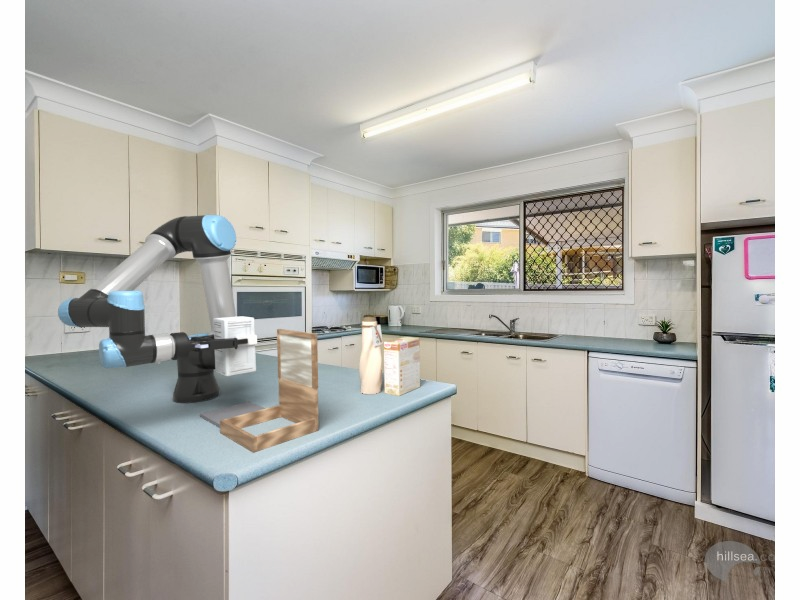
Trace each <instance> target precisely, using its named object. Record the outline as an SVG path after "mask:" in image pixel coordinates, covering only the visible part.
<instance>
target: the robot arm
mask: <svg viewBox="0 0 800 600" xmlns="http://www.w3.org/2000/svg"><path fill="white" fill-rule="evenodd" d="M236 233H237V232H236V230H235V228H234V226H233V225H232V223H231V221H229V220H228V219H227V218H226V217H225V216H223V215H220V214H207V215H205V214H204V215H202V214H201V215H188V216H186V215H185V216H178V217H175V218H172V219H170V220H168V221H167V222H165V223H163V224H161V225H160V226H158V227H157V228H155V229H154V230H153V231H152V232H151V233H150V234H148V235H147V236H146V237H145V241H144V243H143V244H142V245H141V246H139V247H138V248H137V249H136V250H135V251H134V252H132V253H131V254H130V255H128V257H126V258H125V259H124V260H123V261H122V262H120V264H118V265H117V266H116V267H115V268H113V269H112V270H111V271H110V272H108V274H106V275H105V276H104V277H103V278H102V279H101V280H99V281H98V282H97V283H96V284H95V285H93V286H92V287H91V288H90V289H89V290H87V291H86V292H85V293H83V294H82V295H81V296H79V297H73V298H69V299H66V300H63V301H62V302H61V303H60V304H59V307H58V309H57V317H58V318H59V320H60V321H61V323H62V324H64V325H66V326H69V327H75V328H108V332H109V337H107V338H103V339H101V340H100V341H99V343H98V357H99V362H100V364H101V365H100V366H102V367H103V368H105V369H116V368H117V369H118V368H127V367H135V366H141V365H148V364H155V363H156V364H157V365H161V364H162V362H169V361H171V360H172V361H176V362H177V364H176V365H177V380H176V383H175V387H174V391H173V393H172V400H174V401H173V402H176V403H179V402H180V403H181V404H185V403H187V404H189V403H198V402H204V401H209V400H212V399H215V398H217V397H218V396H220V394H221V393H220V386H219V385H218V381H217V379H216V377H215V371H214V370H215V349H226V348H235V349H237V347H238V346H244V345H252V344H255V345H258V335H257V334H255V335H251V336H242V337H235V338H227V339H214V322H213V319H214V318H226V317H237V314H236V313H237V312H236V307H235V300H234V294H233V288H232V282H231V275H230V269H229V263H228V260H229V258H230V257H231V256H232V250H233V249H234V248H235V246H236V242H237V234H236ZM186 252H191V253H192V259H194V261H196V262H198V263H199V267H200V274H201V279H202V285H203V291H204V295H205V296H204V297H205V302H206V307H207V313H208V319H209V325H210V330H211V331H210V332H203V333H196V334H190V335H188V334H187V332H183V331H181V332H171V333H156V334H154V333H153V334H148V335H146V323H145V321H146V317H145V308H146V306H145V301H144V294H143V292H142V291H140V290H135V289H137V288H138V287H139V286H140V285H141V284H142V283H143V282H144V281H145V280H146V279H147V278H149V277H150V275H151V274H152V273H154V272H155V271H156V270H157V269H158V268H159V267H161V265H162V264H163V263H164V262H166V261H167V260H168V261H169V260H173V259H174V258H175V257H176V256H177V255H179V254H182V253H186Z"/></svg>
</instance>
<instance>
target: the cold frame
mask: <svg viewBox="0 0 800 600" xmlns="http://www.w3.org/2000/svg"><path fill="white" fill-rule="evenodd" d="M276 345H277V346H276V348H277V379H278V405H275V406H271V407H267V408H266V407H265V408H266V409H262V410H258V411H254V412H251V413H247V414H243V415H239V416H235V417H231V418H228V419H224V420H220V428H219V431H220V434H221V435H223V436H225V437H227V438H228V439H229V440H231V441H233V442H235V443H236V444H238V445H239V446H242V447H243V448H245V449H246V450H248V451H250V452H252V453H253V454H254V453H256V452H260V451H263V450H265V449H269V448H272V447H274V446H276V445H280V444H282V443H285V442H289V441H291V440H295V439H297V438H301V437H303V436H307V435H309V434H312V433H315V432H318V431H320V430H319V365H318V364H319V363H318V361H319V359H318V358H319V355H318V353H319V352H318V333H313V332H307V331H299V330H298V331H297V330H292V329H283V328H278V329H276ZM280 418H283V419H284V420H287V419H288V421H290V422H293V424H290V425H287V426H283V427H280V428H276V429H273V430H270V431H267V432H264V433H261V434H257V435H254V434H252V433H250V432H248V431H246V430H245V429H243V428H248V427H250V426H251V427H252V426H254V425H258V424H260V423H264V422H265V423H266V422H269V421H271V420H275V419H280Z"/></svg>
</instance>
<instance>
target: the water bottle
mask: <svg viewBox="0 0 800 600" xmlns="http://www.w3.org/2000/svg"><path fill="white" fill-rule="evenodd" d="M359 326H360V327H361V352H360V356H359V365H358V374H359V381H360V383H361V384H360V385H361V386H360V391H361V392H360V393H361V394H362V393H363V395H376V393H377V394H380V393H381V391H382V384H383V369H382V365H383V354H382V346H381V345H384V341H383V336H382V335H383V333H382V328H381V324H378V321H377V318H376V317H374V316H373V317H371V316H370V317H369V316H368V317H366V316H364V317H363V318H362V321H361V324H359ZM379 392H380V393H379Z"/></svg>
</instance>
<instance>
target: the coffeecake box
mask: <svg viewBox="0 0 800 600" xmlns="http://www.w3.org/2000/svg"><path fill="white" fill-rule="evenodd" d="M420 347H421V346H420V337H413V336H403V337H399V338H396V339H391V340H386V341H383V370H384V371H383V373H384V374H383V375H384V394H385V393H387V394H386V395H391V394H392V396H396V397H400V396H402V395H404V394H407V393H409V392H411V391H414V390H416V389H419V388H421V367H420V366H421V361H420V360H421V359H420V358H421V355H420V354H421V353H420V352H421V349H420Z"/></svg>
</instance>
